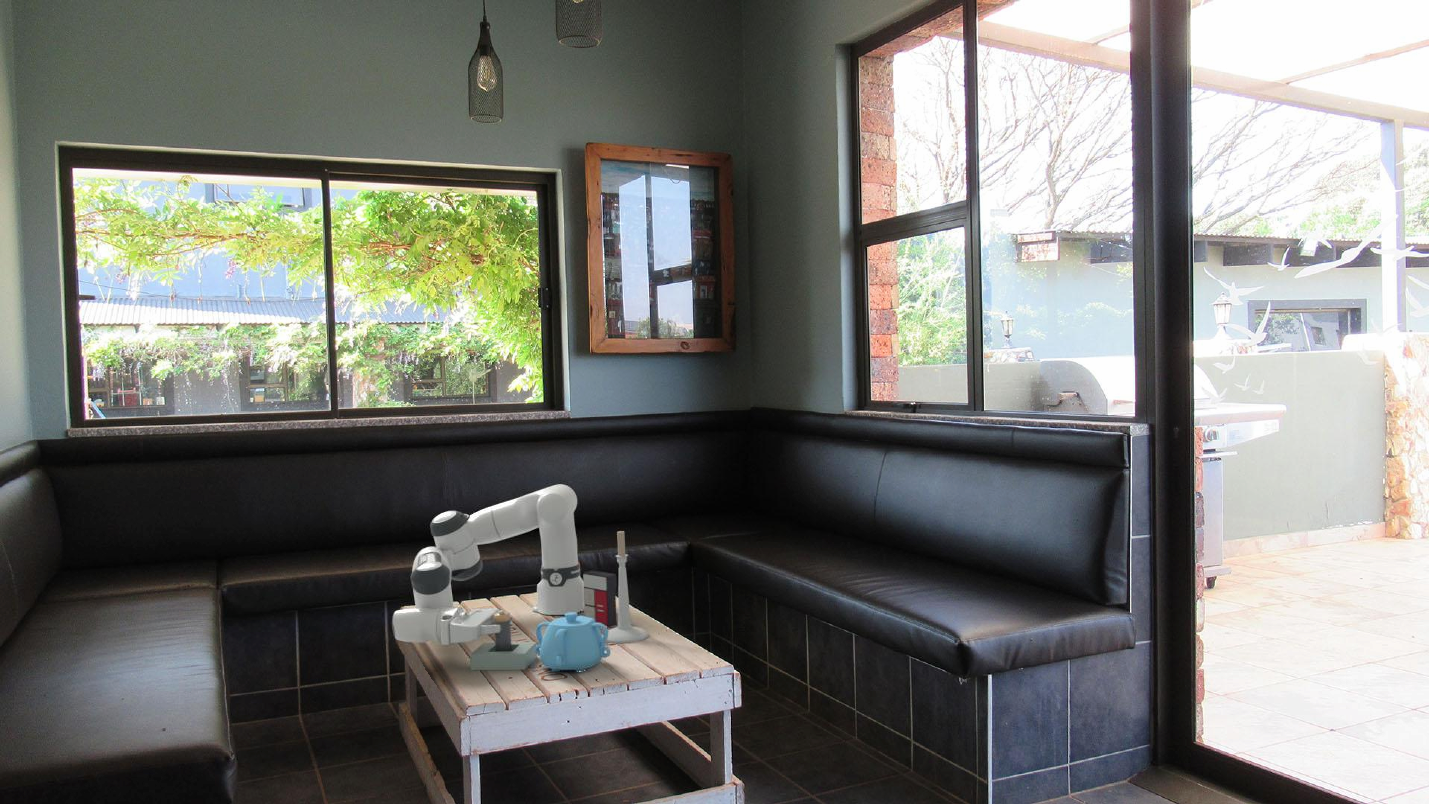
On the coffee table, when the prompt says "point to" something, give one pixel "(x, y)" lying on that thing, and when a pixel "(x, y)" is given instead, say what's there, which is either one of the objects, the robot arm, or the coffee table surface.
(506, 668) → the block
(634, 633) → the candlestick
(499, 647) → the battery cell
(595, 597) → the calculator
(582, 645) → the decorative pot
